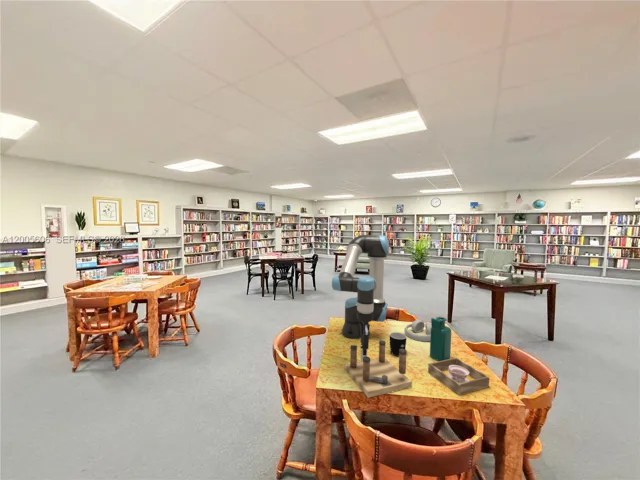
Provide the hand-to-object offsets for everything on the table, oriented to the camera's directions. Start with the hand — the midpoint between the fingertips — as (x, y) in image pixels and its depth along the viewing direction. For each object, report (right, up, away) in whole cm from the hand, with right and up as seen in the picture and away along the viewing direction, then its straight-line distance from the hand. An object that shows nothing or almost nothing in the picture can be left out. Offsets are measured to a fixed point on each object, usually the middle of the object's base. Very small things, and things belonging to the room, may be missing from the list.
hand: (363, 360), depth 121 cm
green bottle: (+44, -7, +18) cm, 48 cm away
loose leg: (+16, -2, -6) cm, 17 cm away
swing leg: (+3, -5, -8) cm, 10 cm away
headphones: (+45, -6, +46) cm, 65 cm away
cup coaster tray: (+43, -8, -1) cm, 44 cm away
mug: (+24, -7, +23) cm, 34 cm away
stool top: (+6, -8, -1) cm, 10 cm away
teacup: (+42, -9, -4) cm, 43 cm away
